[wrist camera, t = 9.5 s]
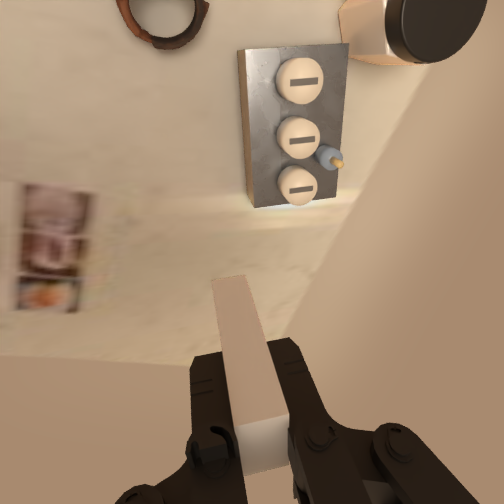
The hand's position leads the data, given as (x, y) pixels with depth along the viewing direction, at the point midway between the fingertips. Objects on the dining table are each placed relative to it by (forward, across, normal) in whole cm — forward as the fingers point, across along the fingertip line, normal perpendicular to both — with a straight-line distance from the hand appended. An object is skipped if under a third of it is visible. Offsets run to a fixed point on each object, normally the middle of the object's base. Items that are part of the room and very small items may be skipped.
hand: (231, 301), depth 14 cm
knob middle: (+30, +11, +2) cm, 32 cm away
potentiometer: (+25, +15, -1) cm, 30 cm away
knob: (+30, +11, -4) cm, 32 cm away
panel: (+30, +12, +2) cm, 33 cm away
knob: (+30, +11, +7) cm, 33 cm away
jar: (+31, +22, +12) cm, 40 cm away
